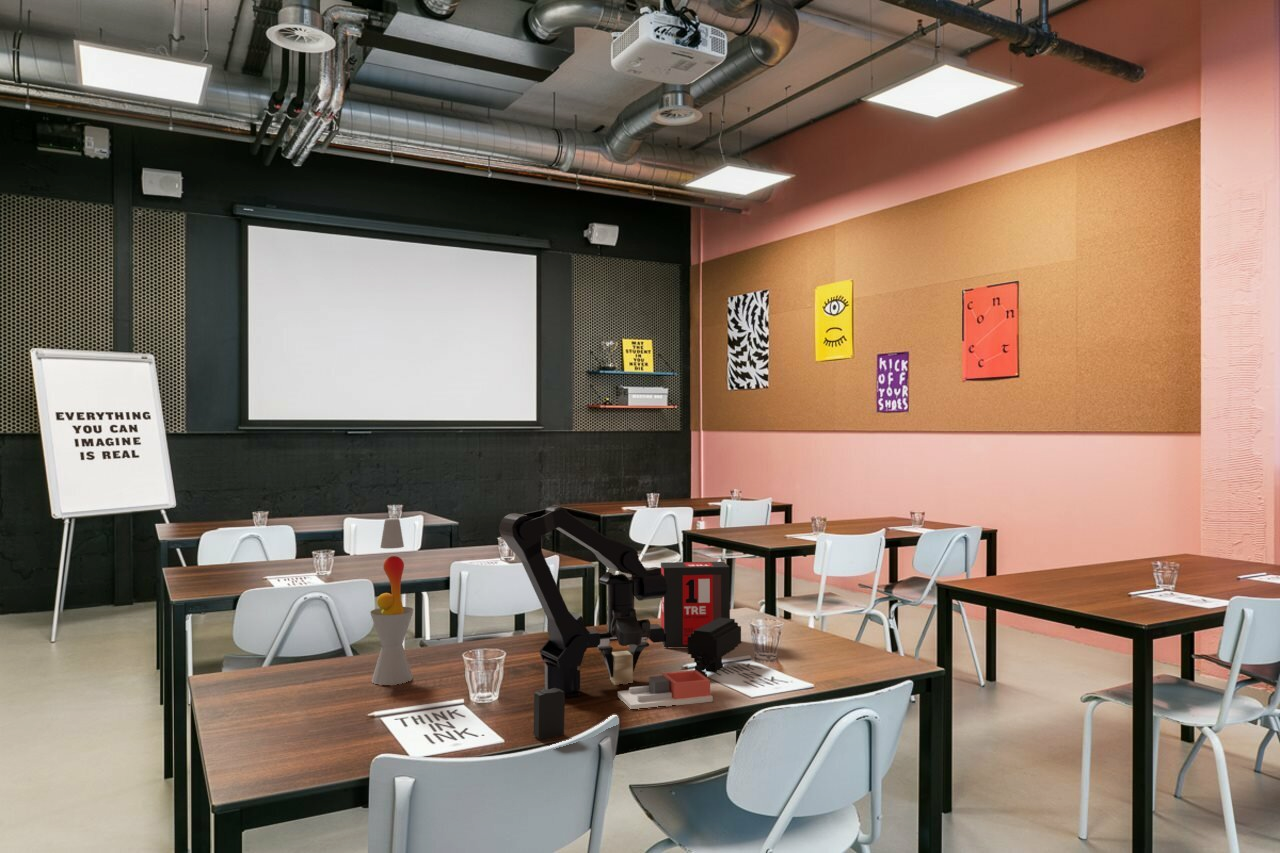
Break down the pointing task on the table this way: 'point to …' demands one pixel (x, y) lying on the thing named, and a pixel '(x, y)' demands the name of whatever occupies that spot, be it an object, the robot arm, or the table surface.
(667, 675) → the slide switch base
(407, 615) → the lava lamp
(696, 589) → the cleaning product box
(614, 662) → the block
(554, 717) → the ink cartridge
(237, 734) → the table surface
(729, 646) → the security camera
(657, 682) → the toggle
